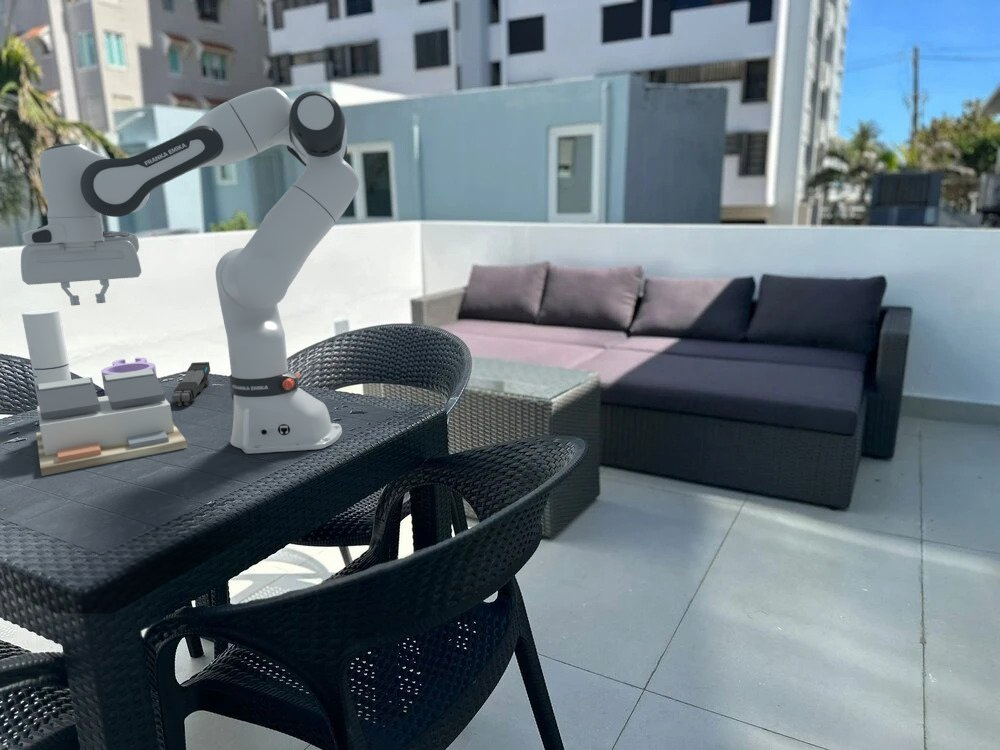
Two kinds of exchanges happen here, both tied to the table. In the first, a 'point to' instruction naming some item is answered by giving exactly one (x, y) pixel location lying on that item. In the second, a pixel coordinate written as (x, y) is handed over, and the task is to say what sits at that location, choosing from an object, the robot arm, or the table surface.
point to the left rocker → (67, 398)
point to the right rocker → (133, 388)
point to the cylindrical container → (46, 346)
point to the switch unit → (106, 436)
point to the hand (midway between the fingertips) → (88, 303)
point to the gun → (192, 383)
